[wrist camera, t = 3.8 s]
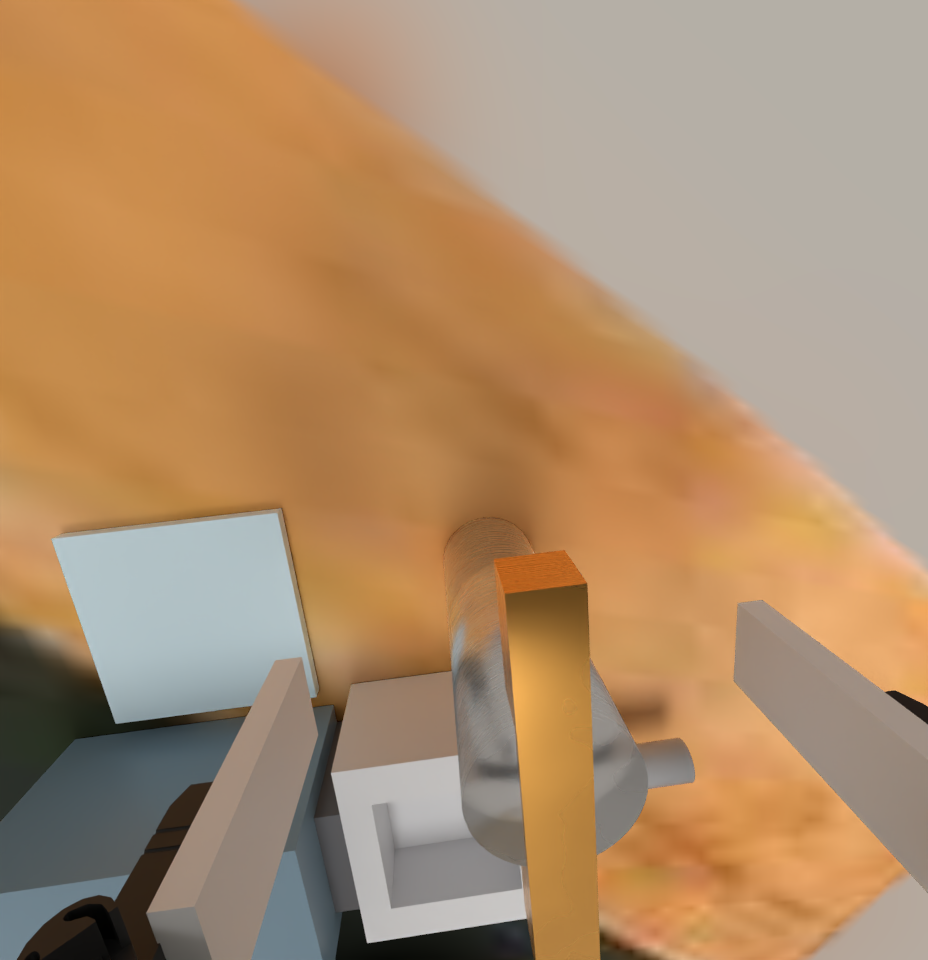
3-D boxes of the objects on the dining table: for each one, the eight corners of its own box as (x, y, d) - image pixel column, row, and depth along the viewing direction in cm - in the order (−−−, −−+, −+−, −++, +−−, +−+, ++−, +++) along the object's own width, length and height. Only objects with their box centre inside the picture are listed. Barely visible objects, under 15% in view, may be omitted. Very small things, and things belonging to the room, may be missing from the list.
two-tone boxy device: (68, 721, 22) (-87, 881, 16) (660, 643, 24) (753, 760, 17) (150, 937, 26) (53, 1141, 19) (658, 859, 27) (733, 1026, 21)
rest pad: (62, 533, 20) (51, 538, 20) (281, 508, 21) (277, 512, 20) (123, 714, 22) (115, 724, 22) (319, 688, 23) (316, 697, 22)
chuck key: (430, 456, 20) (435, 602, 9) (524, 445, 21) (655, 575, 9) (455, 661, 23) (484, 987, 11) (538, 650, 23) (652, 960, 11)
